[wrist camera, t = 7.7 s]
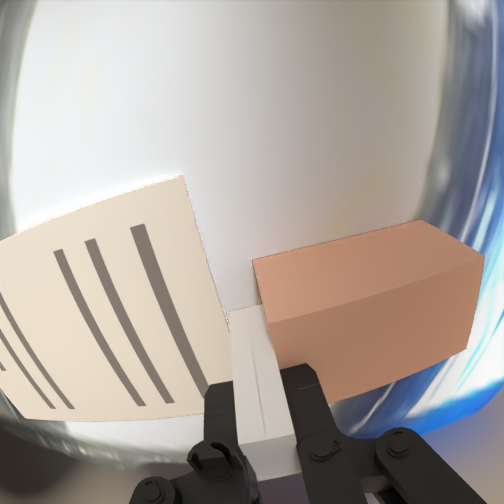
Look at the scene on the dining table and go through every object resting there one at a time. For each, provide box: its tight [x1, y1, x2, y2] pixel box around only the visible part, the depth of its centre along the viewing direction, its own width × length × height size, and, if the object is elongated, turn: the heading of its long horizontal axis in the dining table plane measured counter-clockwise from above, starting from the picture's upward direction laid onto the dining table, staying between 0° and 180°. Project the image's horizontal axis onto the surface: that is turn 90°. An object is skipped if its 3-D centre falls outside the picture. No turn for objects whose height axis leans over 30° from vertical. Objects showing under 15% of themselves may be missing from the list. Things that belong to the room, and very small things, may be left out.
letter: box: [0, 175, 233, 421], centre depth 15 cm, size 14×20×1 cm
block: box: [252, 219, 485, 404], centre depth 13 cm, size 5×5×9 cm
